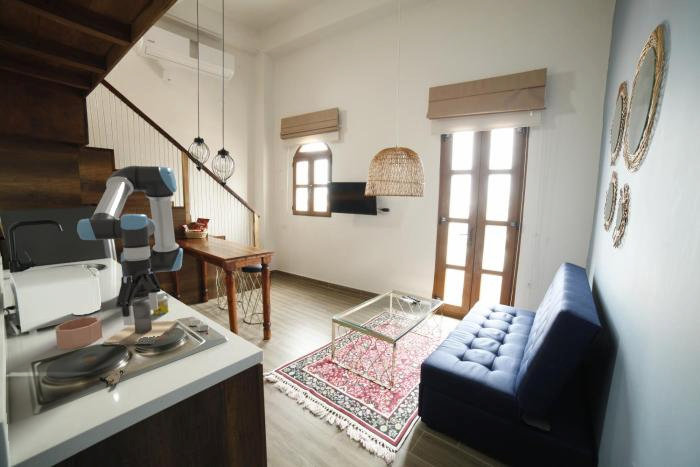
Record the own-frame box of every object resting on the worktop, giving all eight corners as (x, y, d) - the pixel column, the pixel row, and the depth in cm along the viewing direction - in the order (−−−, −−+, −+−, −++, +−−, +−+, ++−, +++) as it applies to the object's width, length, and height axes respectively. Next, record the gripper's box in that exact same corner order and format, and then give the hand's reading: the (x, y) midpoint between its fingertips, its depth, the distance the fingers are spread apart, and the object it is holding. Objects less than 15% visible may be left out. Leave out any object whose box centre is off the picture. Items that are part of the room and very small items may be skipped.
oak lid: (136, 323, 114) (133, 293, 113) (178, 323, 115) (176, 293, 114) (103, 344, 99) (100, 310, 97) (152, 344, 99) (150, 309, 98)
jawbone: (87, 387, 80) (86, 380, 79) (153, 350, 100) (152, 344, 99) (114, 390, 78) (113, 382, 77) (175, 351, 98) (174, 345, 97)
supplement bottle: (171, 312, 128) (169, 290, 127) (162, 317, 123) (161, 295, 122) (159, 311, 128) (157, 290, 127) (150, 316, 123) (148, 294, 122)
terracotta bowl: (78, 335, 107) (76, 316, 106) (109, 335, 107) (108, 316, 106) (48, 351, 96) (45, 331, 95) (83, 351, 96) (81, 330, 95)
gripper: (149, 251, 116) (153, 304, 118) (97, 267, 91) (104, 332, 93) (168, 251, 116) (172, 304, 118) (122, 266, 91) (128, 332, 94)
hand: (142, 316), depth 106 cm, fingers open, 13 cm apart
